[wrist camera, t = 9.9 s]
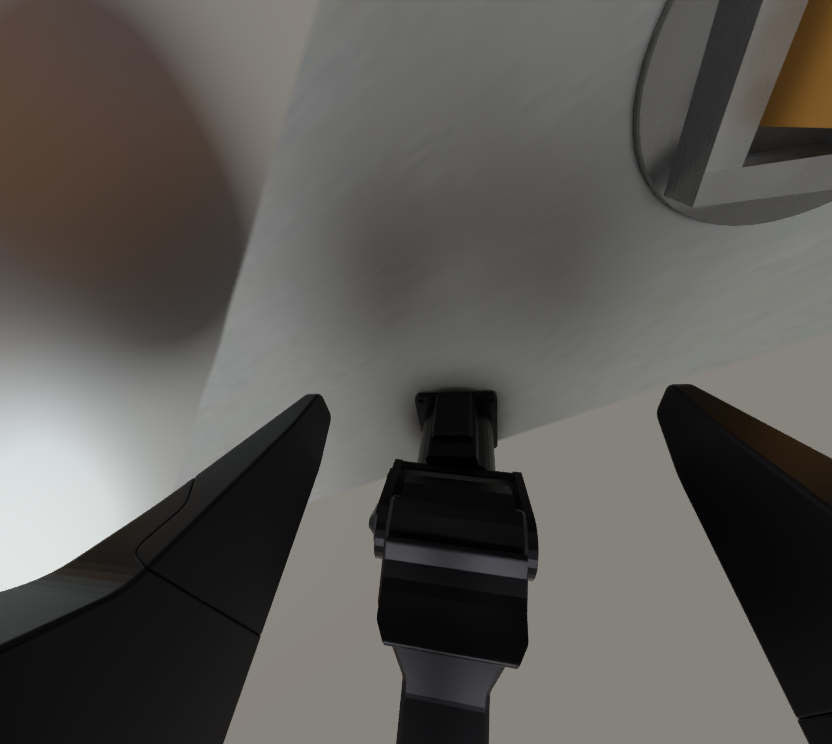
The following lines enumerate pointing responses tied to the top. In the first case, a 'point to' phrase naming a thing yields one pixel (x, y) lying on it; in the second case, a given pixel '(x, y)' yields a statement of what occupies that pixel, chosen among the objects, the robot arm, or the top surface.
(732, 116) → the rosette collar
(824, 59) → the orange rectangular block
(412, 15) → the top surface
